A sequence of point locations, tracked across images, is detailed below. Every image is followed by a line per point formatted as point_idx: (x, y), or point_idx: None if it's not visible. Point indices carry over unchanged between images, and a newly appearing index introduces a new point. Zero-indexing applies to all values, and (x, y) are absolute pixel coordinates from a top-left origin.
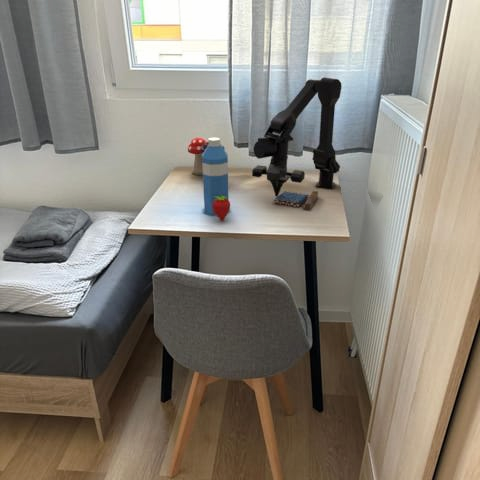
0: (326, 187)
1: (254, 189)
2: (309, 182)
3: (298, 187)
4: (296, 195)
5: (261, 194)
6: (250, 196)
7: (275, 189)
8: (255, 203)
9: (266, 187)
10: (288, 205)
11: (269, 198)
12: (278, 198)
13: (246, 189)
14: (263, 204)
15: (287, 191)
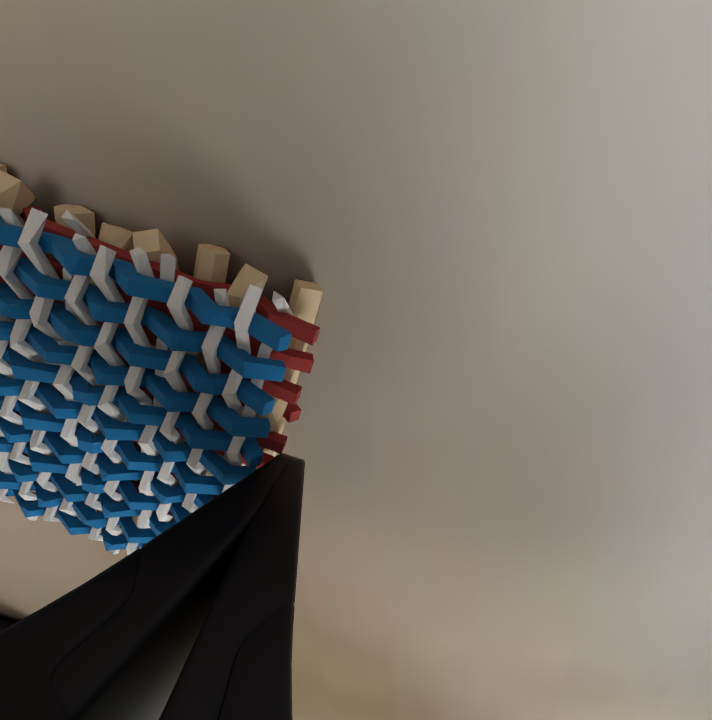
0: (9, 625)
1: (578, 697)
2: None
3: None
4: (28, 458)
5: (510, 591)
6: (689, 556)
7: (251, 564)
8: (681, 274)
9: (445, 705)
10: (86, 209)
11: (407, 481)
12: (226, 347)
13: (680, 714)
14: (513, 235)
15: None
